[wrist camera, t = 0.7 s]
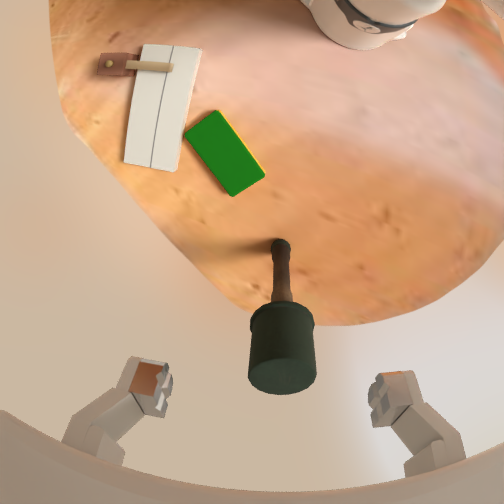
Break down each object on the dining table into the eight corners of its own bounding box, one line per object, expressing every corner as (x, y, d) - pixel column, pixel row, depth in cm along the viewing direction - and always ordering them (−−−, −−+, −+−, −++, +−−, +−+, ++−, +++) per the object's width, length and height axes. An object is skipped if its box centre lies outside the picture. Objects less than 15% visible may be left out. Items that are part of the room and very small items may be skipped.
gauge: (115, 54, 38) (98, 52, 33) (180, 58, 39) (168, 54, 34) (111, 74, 40) (94, 74, 35) (175, 79, 41) (163, 78, 36)
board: (148, 45, 37) (143, 44, 35) (202, 50, 38) (199, 48, 36) (128, 159, 48) (123, 162, 47) (177, 169, 49) (173, 172, 47)
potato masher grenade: (257, 263, 58) (243, 395, 32) (259, 224, 54) (245, 353, 28) (299, 266, 58) (311, 398, 32) (305, 227, 53) (327, 357, 28)
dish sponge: (219, 108, 44) (217, 109, 41) (266, 172, 49) (266, 176, 47) (187, 132, 46) (182, 134, 44) (233, 193, 51) (231, 198, 49)
